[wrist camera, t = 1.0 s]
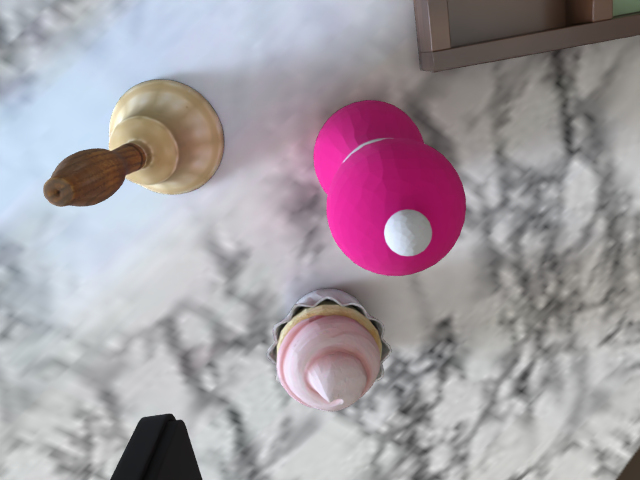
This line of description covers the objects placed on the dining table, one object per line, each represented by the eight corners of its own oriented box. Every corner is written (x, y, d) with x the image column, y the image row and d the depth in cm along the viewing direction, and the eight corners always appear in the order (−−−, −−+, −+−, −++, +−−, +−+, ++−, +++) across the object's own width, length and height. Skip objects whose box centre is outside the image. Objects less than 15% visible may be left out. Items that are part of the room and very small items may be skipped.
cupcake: (253, 341, 42) (235, 423, 33) (303, 251, 40) (299, 312, 30) (348, 384, 44) (357, 474, 35) (404, 301, 41) (430, 373, 32)
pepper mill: (319, 199, 38) (323, 338, 19) (308, 101, 36) (299, 153, 17) (414, 188, 38) (511, 318, 19) (409, 89, 35) (515, 128, 17)
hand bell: (100, 172, 37) (-46, 251, 22) (123, 61, 35) (-26, 66, 20) (207, 208, 38) (137, 306, 23) (238, 103, 36) (180, 137, 21)
